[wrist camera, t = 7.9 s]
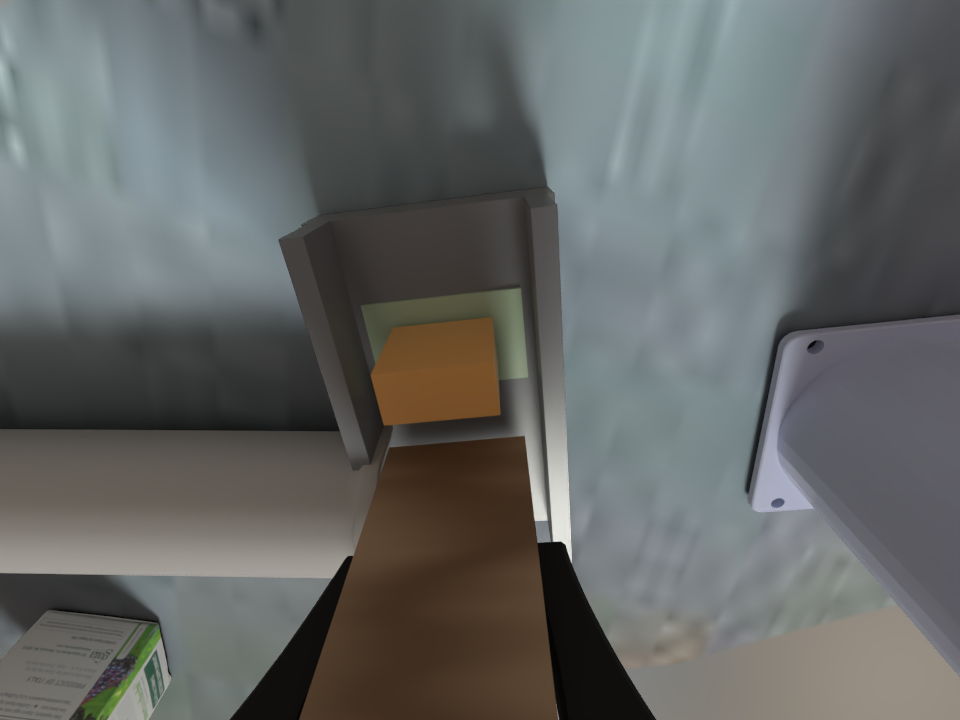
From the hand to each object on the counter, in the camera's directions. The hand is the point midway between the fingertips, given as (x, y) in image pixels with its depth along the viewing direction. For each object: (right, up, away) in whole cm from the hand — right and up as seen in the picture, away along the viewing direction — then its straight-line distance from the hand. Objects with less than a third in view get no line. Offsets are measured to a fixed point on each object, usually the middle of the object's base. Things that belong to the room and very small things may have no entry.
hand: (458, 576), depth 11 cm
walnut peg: (0, +1, +3) cm, 3 cm away
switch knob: (0, +6, +3) cm, 7 cm away
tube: (-15, +2, +7) cm, 17 cm away
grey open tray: (0, +5, +5) cm, 7 cm away
